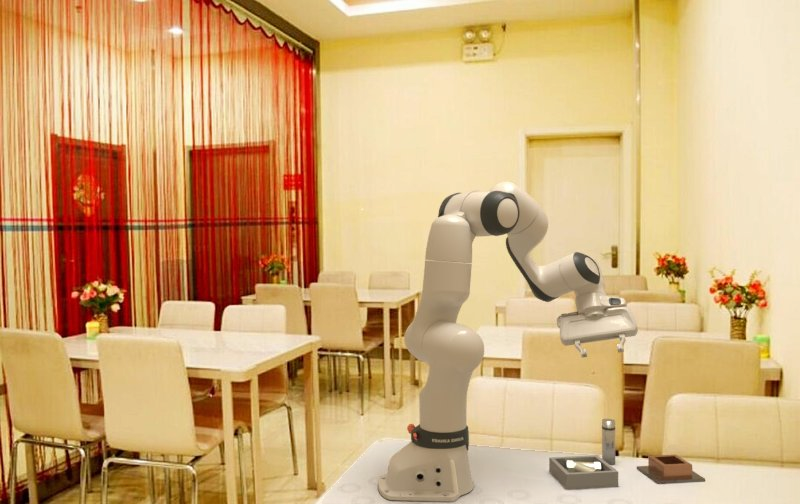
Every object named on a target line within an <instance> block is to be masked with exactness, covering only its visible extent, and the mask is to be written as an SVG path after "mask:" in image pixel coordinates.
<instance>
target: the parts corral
mask: <svg viewBox="0 0 800 504" xmlns="http://www.w3.org/2000/svg"><path fill="white" fill-rule="evenodd" d="M548 458H549V460H548V461H549V462H548V463H549V464H548V465H549V467H548V468H549V469H548V471H549V473H550V475H552V476H553V477H554V479H556V480H557V481H558V483H560V484H561V486H563V488H564V489H566V490H584V489H603V488H617V487H619V471H618V470H617V469H615V468H614V467H613V465H609V464H608V463H607V462H605V461H604V460H603V459H602V458H601V457H600V456H599V455H598V454H594V455H593V454H591V455H575V456H574V455H573V456H553V457H548ZM566 461H575V462H600V463H601V471H593V472H575V473H569V472H568V471H567V470H566Z"/></svg>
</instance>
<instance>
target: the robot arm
mask: <svg viewBox="0 0 800 504" xmlns="http://www.w3.org/2000/svg"><path fill="white" fill-rule="evenodd" d="M439 206H440V207H439V208H438V209H439V210H438V214H437V217H436V218H435V219H434V220H433V222H432V223H431V226H430V230H429V233H428V238H427V243H426V248H425V256H424V257H425V258H424V268H423V269H424V270H423V280H422V290H421V295H420V300H419V304H418V306H417V309H416V311H415V316H414V318H413V320H412V322H411V323H409V325H408V327H407V328H406V330H405V333H404V337H403V338H404V344H405V347H406V349H407V350H408V352H409V353H410V354H411V355H412V356H413V357H414V358H415V359H417V360H418V361H420V362H423V363H425V364H427V365H428V366H429V367H428V368H429V369H428V376H427V379H426V383H425V385H424V386H423V388H422V389H421V390H420V392H419V395H418V396H419V397H418V399H419V404H418V405H419V406H418V408H419V424H417V425H416V426H415V425H414V423H409V424H408V426H407V427H406V429H407V431H408V433H409V434H410V440H411V441H410V442H408V443H407V444H406V445H405V446H403V447H402V448H401V449H400V450H398V451H397V452H395V453H394V454H393V455H392V456H391V458H390V460H389V463H388V467H387V472H386V473H384V474H381V476H380V477H379V478H378V483H377V488H378V492H379V493H380V495H381V496H382V497H383V498H385V499H387V500H390V501H408V502H409V501H414V502H417V501H418V502H454V501H457V500H458V499H459V498H460V497H462V496H464V495H466V494H468V493H470V492H472V491H473V489H474V487H475V484H474V481H473V477H472V473H471V472H472V471H471V467H470V463H469V461H470V460H469V452H468V451H469V447H470V430H469V425H467V408H468V407H467V398H468V397H467V396H468V389H469V385H470V381H471V379H472V378H471V377H472V375H473V373H474V370H476V369H477V368H478V367H479V366H480V364H481V363H482V361H483V358H484V355H485V345H484V341H483V339H482V337H481V336H480V335H479V334H478V333H477V332H476V331H474V330H473V329H471V328H470V327H468V326H467V325H465V324H461V323H457V320H458V316H459V313H460V311H461V308H462V306H463V304H464V303H465V302H467V300H468V299H469V297H470V294H471V293H470V292H471V289H470V288H471V281H472V280H471V278H472V266H473V265H472V264H473V242H474V241H475V238H476V237H477V238H479V237H490V236H491V237H492V236H494V237H498V236H504V235H506V236H507V237H506V238H505V248H506V250H507V252H508V254H509V256H510V259H511V260H512V261H513V263H514V264H515V266H516V267H517V269H518V270H519V272H520V273H521V275H522V276H523V278H524V279H525V281H526V283H527V284H528V286H529V289H530V291H531V292H532V294H533V295H534V297H535V298H536V299H538V300H539V301H543V302H545V303H550V302H552V301H553V300H556V299H558V298H560V297H562V296H564V295H566V294H569V293H571V292H573V293H574V295H575V306H576V311H573V312H568V313H561V314H560V315H559V316H558V317H557V318H556V325H557V328H559V338H560V342H561V344H562V345H563V346H564V347H565V346H575V349H577V351H578V352H579V353H580V356H581V358H587V357H588V354H587V349H586V348H582V344H588V343H593V342H601V341H608V340H616V339H619V341H620V342H619V343H617V344H616V350H617V353H618V354H619V353H624V352H625V351H624V345H625V344H626V338H630V337H635V336H636V335H637V334H638V329H639V328H638V326H637V321H636V319H635V315H634V314H633V312H632V311H631V309H630V308H629V307H628V305H627V301H626V300H625V298H624V297H617V296H608V295H607V293H606V291H605V288H606V285H605V280H604V276H603V273H602V270H601V267H600V266H599V263H598V261H597V259H595V258H594V257H593V256H590V255H587V254H585V253H582V252H577V251H575V252H572V253H570V254H568V255H565V256H563V257H561V258H559V259H557V260H554V261H552V262H549V263H548V264H545V265H537V263H536V262H535V261H536V260H535V259H534V258H533V257H532V255H531V252H532V251H533V250H534V249H535V248H536V247H537V246H539V244H540V243H542V242H543V240H544V238H545V237H546V234H547V231H548V229H549V218H548V216H547V214H546V212H545V210H544V209H543V208H542V206H540V204H539V203H538V202H537V201H536V200H535V199H534V198H533V197H532V196H531V195H530V194H529V193H527V192H526V190H524V189H523V188H521V187H520V186H519V185H517V184H516V183H513V182H511V181H501V182H499V183H497V184H495V185H494V186H492V188H491V189H489V191H488V190H470V191H465V192H455V193H453V194H450V195H448V196H447V197H445V198H444V199H443V201H442V202H441V203H440V205H439Z"/></svg>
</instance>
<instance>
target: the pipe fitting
mask: <svg viewBox="0 0 800 504" xmlns="http://www.w3.org/2000/svg"><path fill="white" fill-rule="evenodd" d="M566 470H567V471H568V472H569V473H575V472H593V471H601V463H600V462H575V461H566Z"/></svg>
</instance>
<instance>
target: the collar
mask: <svg viewBox="0 0 800 504" xmlns="http://www.w3.org/2000/svg"><path fill="white" fill-rule="evenodd" d="M647 462H648V465H637V466H636V470H637V471H639V472H640V473H642V474H643V475H644V476H646V477H647V478H649V479H650V480H651V481H652V482H654V483H655V484H656V485H663V484H681V483H698V482H705V481H706V478H705V477H703V476H702V475H700V474H698V473H697V472H696V471H693V464H692V463H690V462H689V461H687V460H686V459H684V458H682V457H680V456H679V455H678V454H662V455H659V454H658V455H648V461H647Z"/></svg>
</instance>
